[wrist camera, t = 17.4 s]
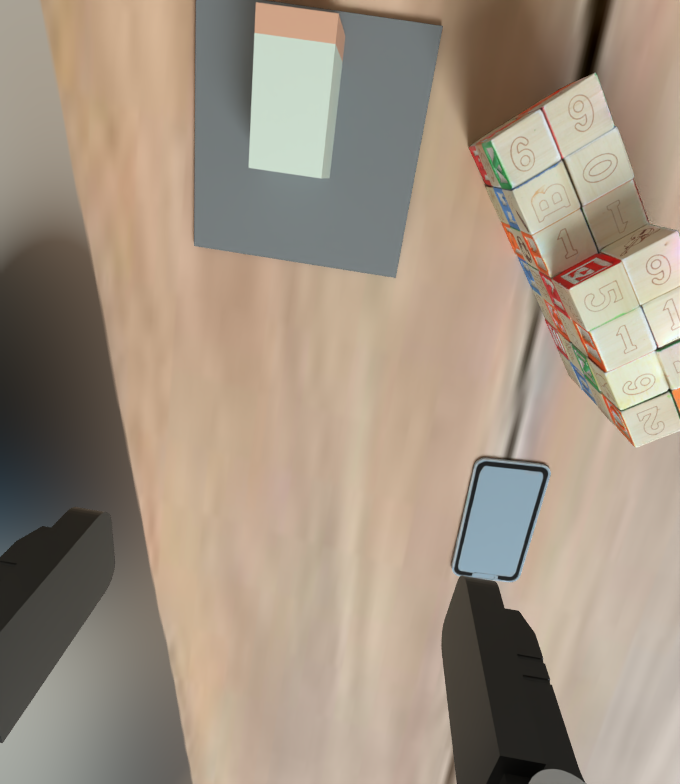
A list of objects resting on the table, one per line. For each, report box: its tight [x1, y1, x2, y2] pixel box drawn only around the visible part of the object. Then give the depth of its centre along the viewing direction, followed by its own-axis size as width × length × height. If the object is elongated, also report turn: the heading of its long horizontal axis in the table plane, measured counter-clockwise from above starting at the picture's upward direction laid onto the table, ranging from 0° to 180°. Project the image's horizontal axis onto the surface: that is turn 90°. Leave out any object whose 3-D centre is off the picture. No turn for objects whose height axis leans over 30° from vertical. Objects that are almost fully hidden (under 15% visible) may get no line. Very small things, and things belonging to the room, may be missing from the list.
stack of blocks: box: [469, 73, 680, 447], centre depth 32 cm, size 21×6×12 cm, turn 32°
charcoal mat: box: [194, 0, 443, 278], centre depth 36 cm, size 17×17×1 cm
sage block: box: [249, 2, 345, 179], centre depth 32 cm, size 5×5×9 cm
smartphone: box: [452, 458, 551, 582], centre depth 49 cm, size 7×1×15 cm
